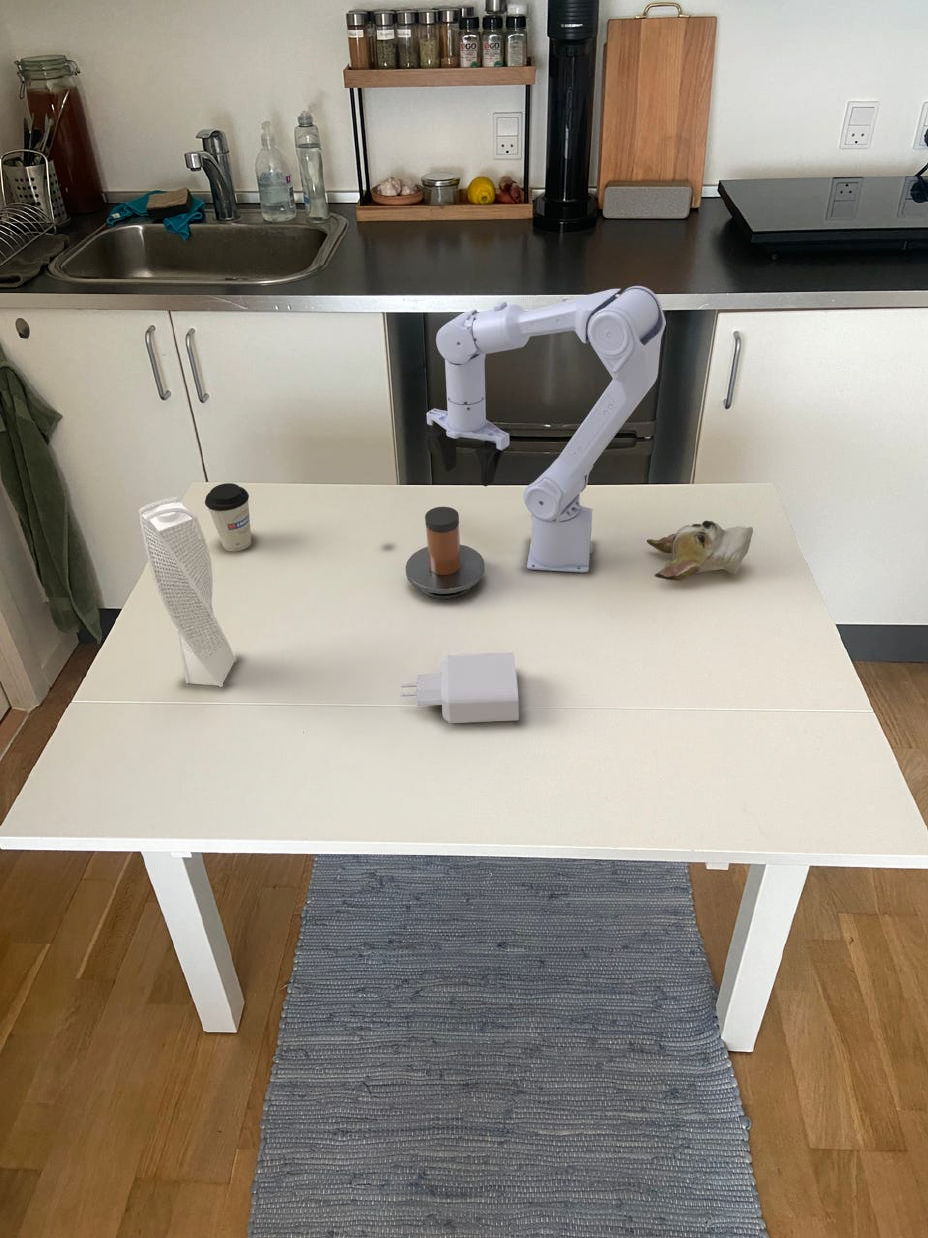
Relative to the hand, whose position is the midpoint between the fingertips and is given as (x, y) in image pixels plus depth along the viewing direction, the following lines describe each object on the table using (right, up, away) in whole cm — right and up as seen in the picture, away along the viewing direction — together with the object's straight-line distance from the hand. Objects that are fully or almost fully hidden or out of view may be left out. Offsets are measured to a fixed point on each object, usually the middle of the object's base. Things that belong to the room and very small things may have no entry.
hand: (468, 476), depth 147 cm
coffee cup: (-38, -10, +6) cm, 40 cm away
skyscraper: (-36, -30, -18) cm, 50 cm away
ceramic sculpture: (+35, -15, -4) cm, 38 cm away
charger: (-1, -34, -24) cm, 41 cm away
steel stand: (-4, -17, -4) cm, 18 cm away
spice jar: (-4, -14, -6) cm, 16 cm away
